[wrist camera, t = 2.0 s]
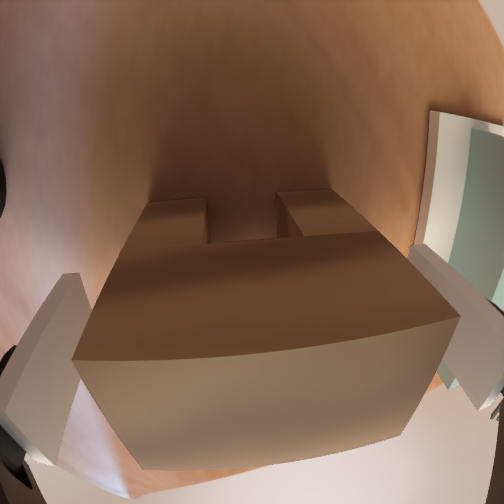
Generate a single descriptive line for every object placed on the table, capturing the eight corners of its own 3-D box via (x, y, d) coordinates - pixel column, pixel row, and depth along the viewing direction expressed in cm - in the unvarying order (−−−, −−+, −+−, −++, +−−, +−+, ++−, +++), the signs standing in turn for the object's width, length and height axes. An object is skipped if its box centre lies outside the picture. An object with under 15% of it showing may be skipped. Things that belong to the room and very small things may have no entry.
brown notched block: (147, 202, 13) (71, 360, 5) (332, 189, 14) (460, 316, 6) (165, 299, 15) (142, 469, 7) (324, 285, 16) (400, 435, 8)
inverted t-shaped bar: (429, 110, 12) (501, 126, 8) (503, 126, 13) (565, 147, 8) (385, 351, 19) (416, 405, 15) (452, 334, 20) (485, 377, 15)
